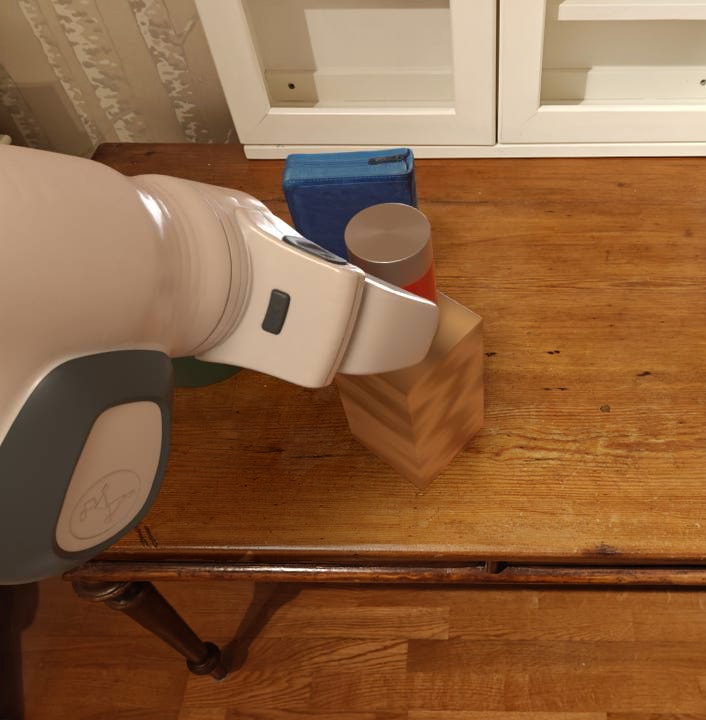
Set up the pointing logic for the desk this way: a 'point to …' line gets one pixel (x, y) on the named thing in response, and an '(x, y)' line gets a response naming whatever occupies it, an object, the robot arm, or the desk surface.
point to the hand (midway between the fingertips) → (347, 277)
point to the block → (423, 400)
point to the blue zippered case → (344, 190)
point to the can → (394, 248)
